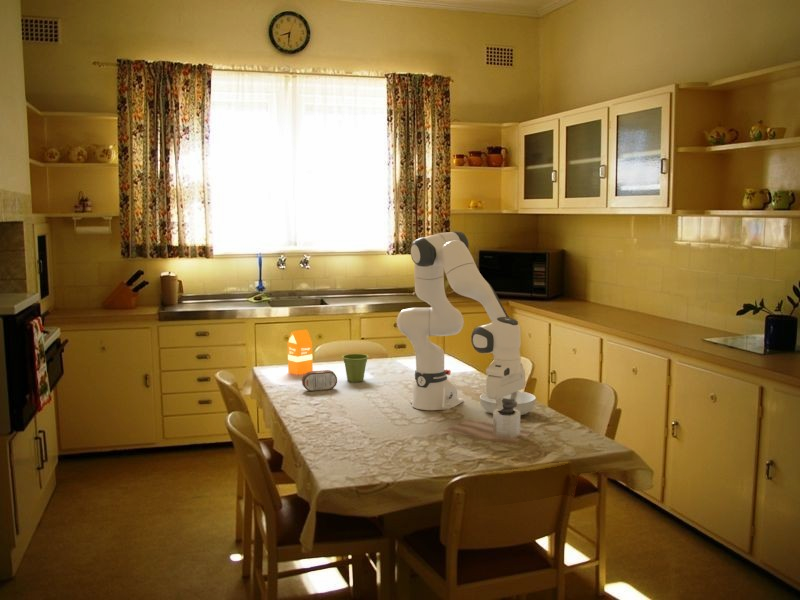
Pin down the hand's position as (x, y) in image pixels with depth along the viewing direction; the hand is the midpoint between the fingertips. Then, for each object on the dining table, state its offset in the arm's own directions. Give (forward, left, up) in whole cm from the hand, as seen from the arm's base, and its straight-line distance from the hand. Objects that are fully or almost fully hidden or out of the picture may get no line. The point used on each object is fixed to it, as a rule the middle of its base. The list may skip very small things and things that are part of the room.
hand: (506, 406), depth 252 cm
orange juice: (-32, -130, -11) cm, 134 cm away
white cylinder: (0, 0, -10) cm, 10 cm away
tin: (-12, -98, -12) cm, 99 cm away
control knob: (0, 0, -2) cm, 2 cm away
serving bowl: (-27, -15, -12) cm, 33 cm away
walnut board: (0, -7, -11) cm, 13 cm away
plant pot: (-34, -97, -11) cm, 103 cm away
